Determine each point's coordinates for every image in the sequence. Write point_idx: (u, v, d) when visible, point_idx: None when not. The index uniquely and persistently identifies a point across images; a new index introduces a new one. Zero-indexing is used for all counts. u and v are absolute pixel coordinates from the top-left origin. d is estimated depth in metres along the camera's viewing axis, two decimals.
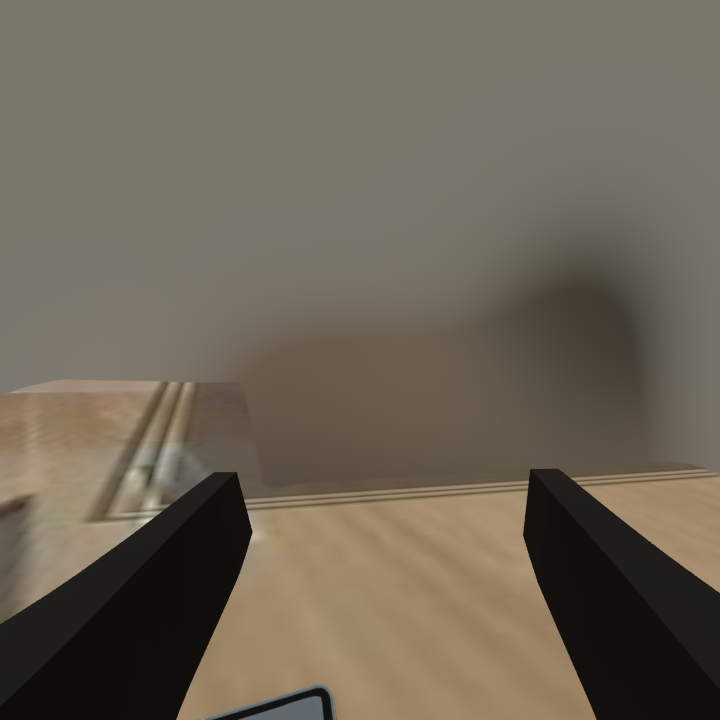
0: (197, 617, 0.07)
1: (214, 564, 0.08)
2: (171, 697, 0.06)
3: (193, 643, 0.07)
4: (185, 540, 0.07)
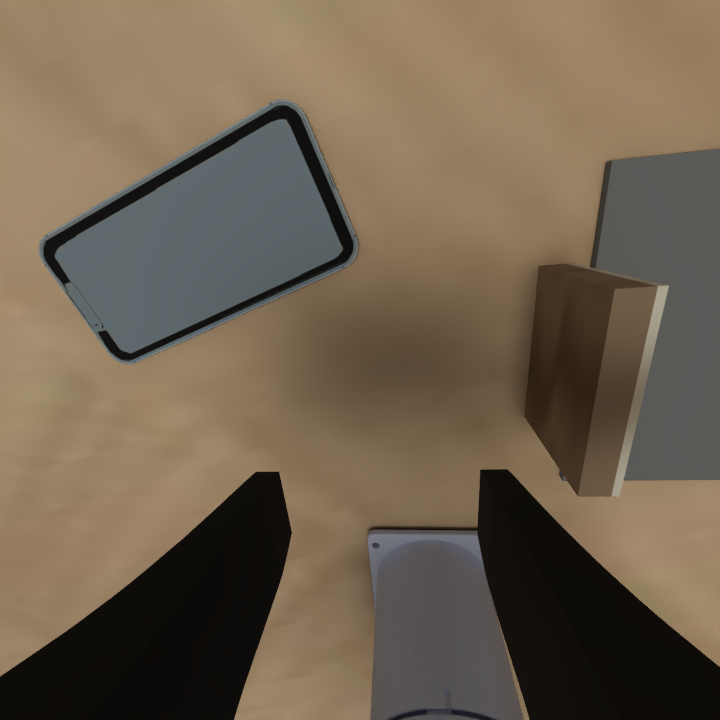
0: (249, 619, 0.07)
1: (262, 565, 0.07)
2: (229, 701, 0.06)
3: (246, 646, 0.07)
4: (239, 541, 0.07)
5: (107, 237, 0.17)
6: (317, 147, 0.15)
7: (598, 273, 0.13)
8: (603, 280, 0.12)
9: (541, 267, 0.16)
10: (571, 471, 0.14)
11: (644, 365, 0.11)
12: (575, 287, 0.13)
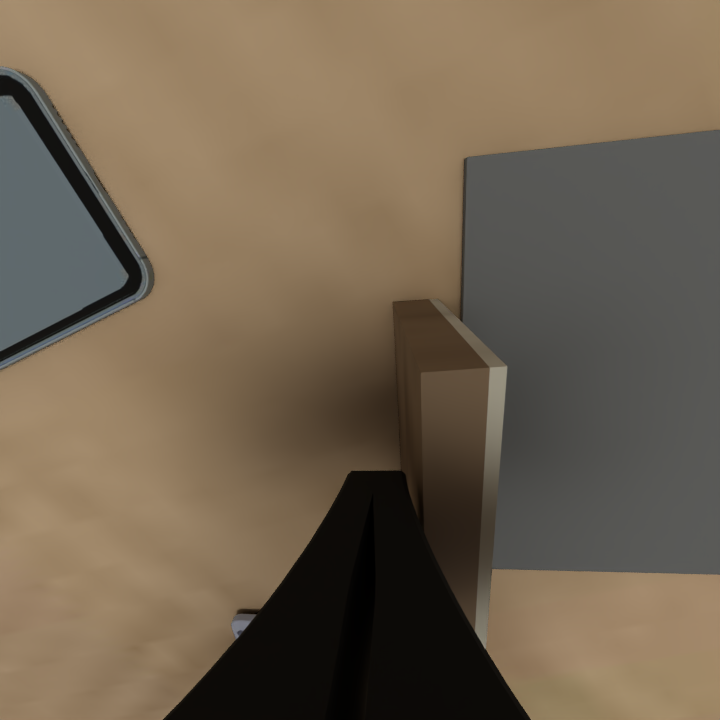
0: (369, 624, 0.07)
1: (374, 568, 0.07)
2: (364, 710, 0.06)
3: (368, 652, 0.06)
4: (365, 542, 0.06)
5: None
6: (63, 136, 0.10)
7: (442, 324, 0.09)
8: (430, 344, 0.07)
9: (393, 305, 0.11)
10: None
11: (489, 485, 0.07)
12: (405, 347, 0.08)
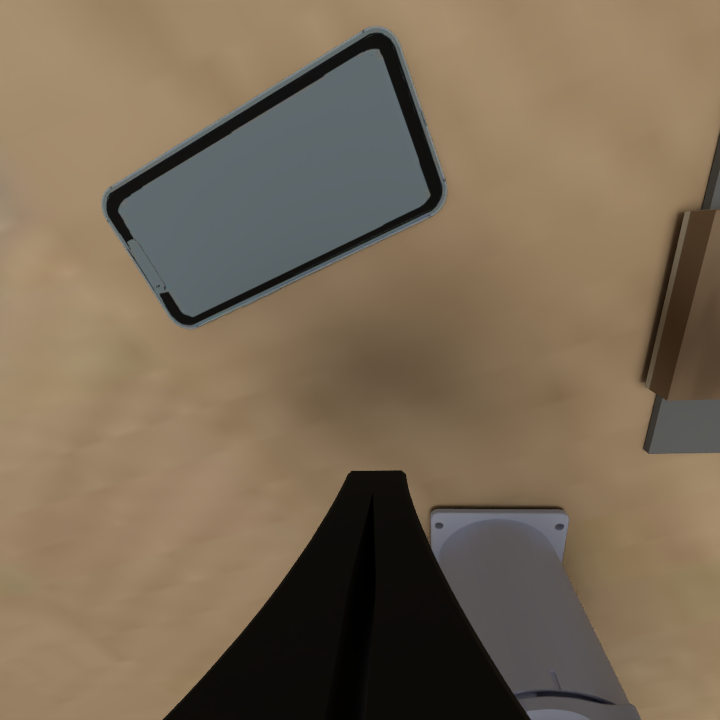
0: (369, 624, 0.07)
1: (373, 568, 0.07)
2: (363, 710, 0.06)
3: (368, 652, 0.06)
4: (365, 542, 0.06)
5: (176, 188, 0.16)
6: (410, 80, 0.14)
7: None
8: None
9: None
10: None
11: None
12: None
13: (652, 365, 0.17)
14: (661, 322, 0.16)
